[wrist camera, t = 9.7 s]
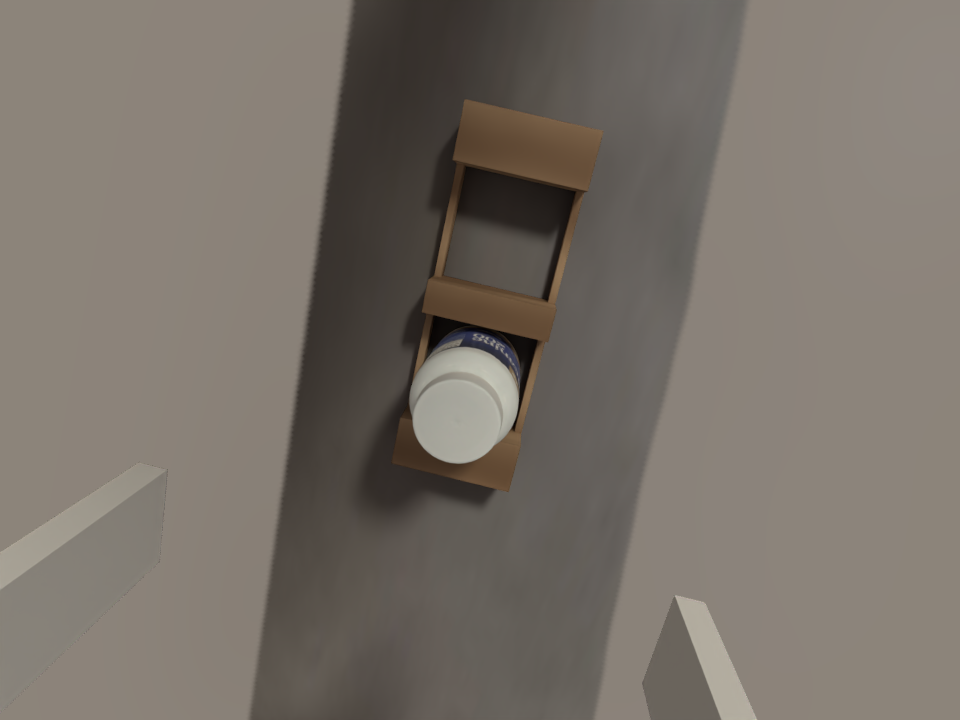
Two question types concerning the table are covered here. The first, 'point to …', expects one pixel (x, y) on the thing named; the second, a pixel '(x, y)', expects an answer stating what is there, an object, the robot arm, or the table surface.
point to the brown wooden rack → (525, 155)
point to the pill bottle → (466, 394)
